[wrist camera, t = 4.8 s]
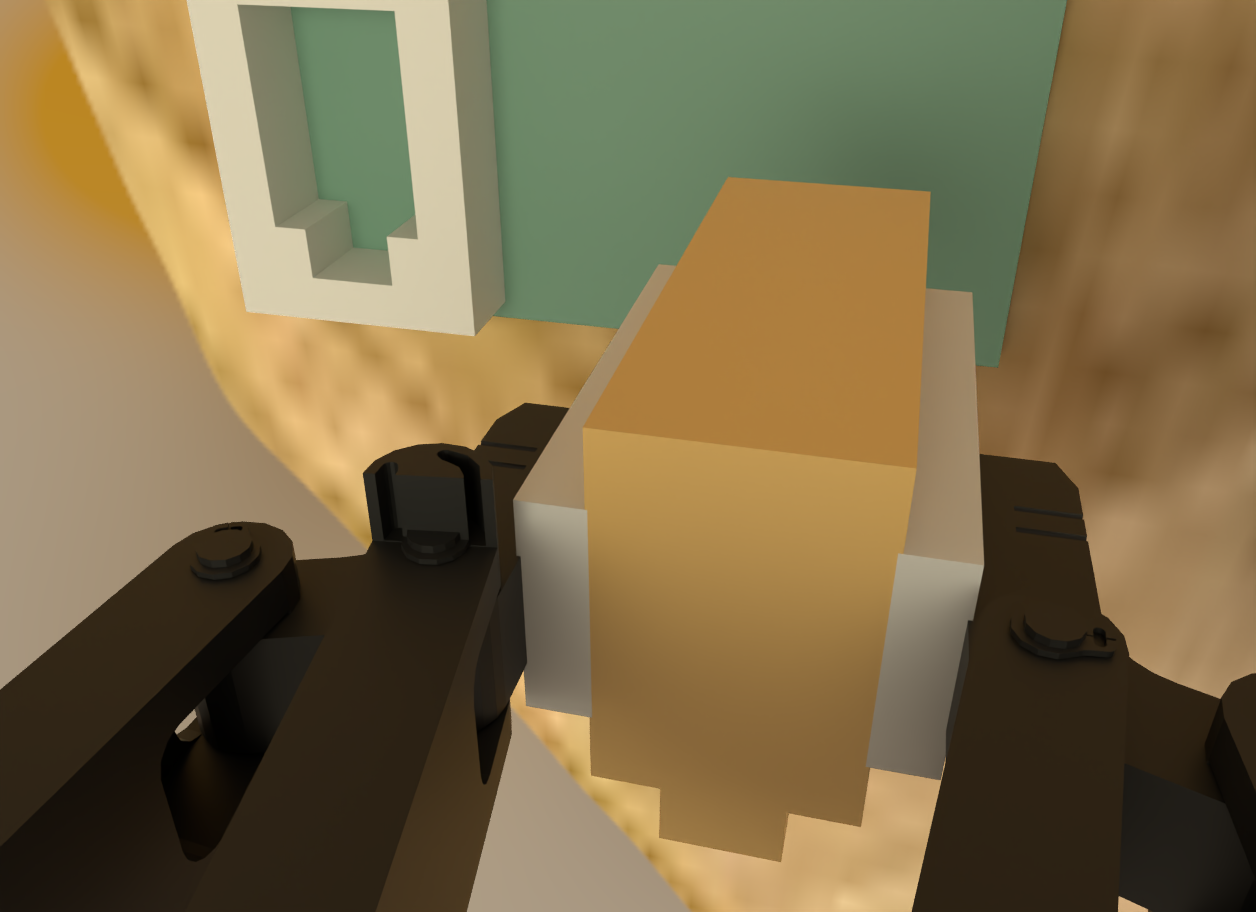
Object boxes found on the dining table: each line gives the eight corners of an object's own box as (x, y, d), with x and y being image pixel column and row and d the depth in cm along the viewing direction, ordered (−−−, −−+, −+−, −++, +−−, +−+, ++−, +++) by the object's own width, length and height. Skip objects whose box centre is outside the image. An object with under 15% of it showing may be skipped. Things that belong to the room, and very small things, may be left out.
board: (1088, -140, 25) (1106, -130, 22) (997, 352, 31) (1001, 410, 28) (239, -148, 29) (159, -141, 26) (308, 283, 35) (249, 327, 32)
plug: (930, 191, 16) (916, 468, 10) (887, 496, 19) (852, 876, 12) (727, 177, 17) (582, 427, 10) (714, 473, 20) (591, 823, 13)
